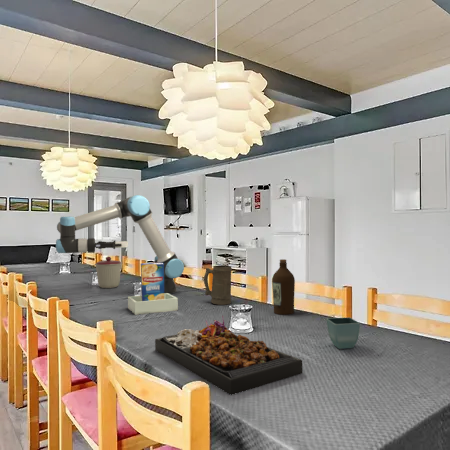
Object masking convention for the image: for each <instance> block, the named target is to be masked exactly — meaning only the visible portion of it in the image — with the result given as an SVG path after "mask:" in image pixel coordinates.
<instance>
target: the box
mask: <svg viewBox="0 0 450 450" xmlns="http://www.w3.org/2000/svg"><path fill="white" fill-rule="evenodd" d="M178 301H179V298H178V297H176V296H175V295H172V294H171V293H164V299H161V300H151V301H142V299H141V295H134V296H133V295H132V296H127V309H128V310H129V311H130V312H131V311H132V312H131V313H132V314H133V315H135V316H139V314H141V315H148V314H149V313H150V314H157V313H167V312H176V311H178V310H179V304H178V303H179V302H178Z"/></svg>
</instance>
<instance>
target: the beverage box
mask: <svg viewBox="0 0 450 450" xmlns="http://www.w3.org/2000/svg"><path fill="white" fill-rule="evenodd" d="M140 283H141V286H140V287H141V288H140V291H141V293H140V294H141V295H140V296H141V299H142V301H151V300H161V299H164V264H163V263H154V262H145V263H144V262H143V263H140Z"/></svg>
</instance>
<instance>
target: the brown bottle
mask: <svg viewBox="0 0 450 450" xmlns="http://www.w3.org/2000/svg"><path fill="white" fill-rule="evenodd" d="M287 264H288V263H287V259H283V258H282V259H279V268H278V269H277V270H276V271H275V272H274V274H273V275H272V279H271V284H272V287H271V288H272V300H273V303H272V304H273V313H274V314H276V315H281V316H283V315H284V316H288V315H293V314H294V313H295V289H296V288H295V285H296V279H295V276H294V274H293V273H292V272H291V271H290V269H288V265H287Z"/></svg>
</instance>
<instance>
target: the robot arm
mask: <svg viewBox="0 0 450 450" xmlns="http://www.w3.org/2000/svg"><path fill="white" fill-rule="evenodd" d="M150 207H151V205H150V202H149V200H148V198H146V197H145V196H143V195H138V194H137V195H133V196H129V197H127V198H125V199H122V200H121V201H118V202H115V203H114V204H113V205H110V206H107V207H103V208H101V209H97V210H93V211H91V212H87V213H84V214H80V215H76V216H60V218H59V222H58V223H57V224H56V230H57V232H58V233H59V235H60V236H59V238H57V239H56V240H55V250H56V253H58V254H75V253H76V254H77V253H80V254H83V253H87V252H88V253H95V252H96V249H98V250H100V249H102V250H103V249H113V250H115V249H119V248H120V249H121V248H122V249H123V248H129V241H128V240H126V241H124V240H123V241H121V240H120V241H116V240H113V241H101V240H100V241H97V242H96V239H95V238H93V237H92V238H91V237H90V238H89V237H88V238H85V237H84V238H76V231H79V230H83V229H85V228H89V227H92V226H95V225H99V224H101V223H105V222H107V221H111V220H114V219H118V218H119V219H122V218H127V217H131V219H132V220H133V222H134V223H135V224H138V226H139V227H140V230H141V232H143V235H144V236H145V238H146V240H147V241H148V243H149V245H150V247H151V248H152V250H153V252H154V254H155V255H156V256H155V257H154V260H153V261H154V262H153V263H163V264H164V293H168V294H173V293H174V294H175V293H176V292H177V291H178V290H177V285H176V283H175V279H177V278H179V277H181V276H182V275H183V273H184V270H185V265H184V263H183V261H182V260H181V259H179V258H178V256H177V254H176V252H174V251H173V250H171V248H170V247H169V246H168V244H167V242H166V240H165V238H164V237H163V235H162V233H161V231H160V230H159V227H158V225H157V223H156V222H155V221H154V219H153V217H152V214H153V211H152V210H151V208H150Z"/></svg>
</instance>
